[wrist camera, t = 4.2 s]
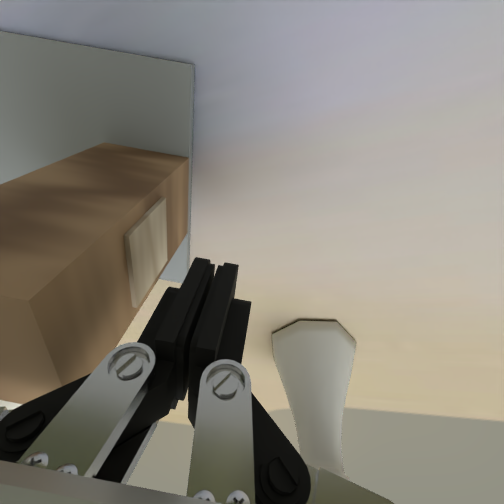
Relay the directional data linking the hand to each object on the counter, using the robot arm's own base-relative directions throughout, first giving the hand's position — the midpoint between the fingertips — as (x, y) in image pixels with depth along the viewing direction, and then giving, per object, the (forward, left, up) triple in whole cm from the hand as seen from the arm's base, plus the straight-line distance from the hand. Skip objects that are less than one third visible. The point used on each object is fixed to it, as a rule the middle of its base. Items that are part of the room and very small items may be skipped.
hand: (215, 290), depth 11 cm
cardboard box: (+6, 0, -8) cm, 10 cm away
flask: (-8, +12, -9) cm, 16 cm away
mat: (+12, 0, -8) cm, 15 cm away
